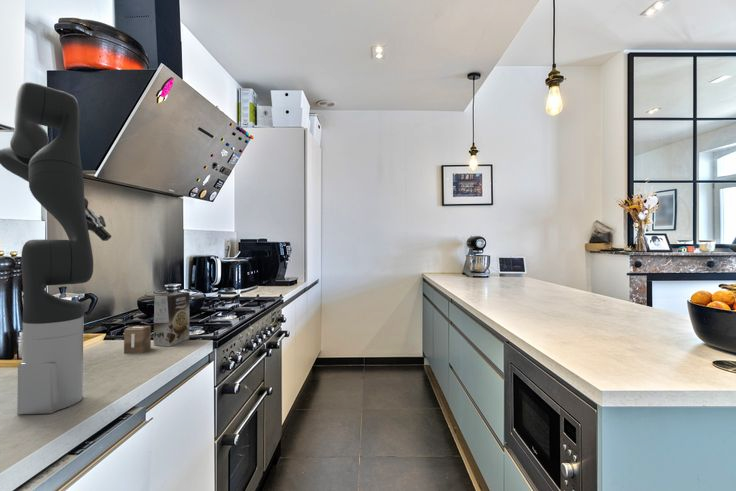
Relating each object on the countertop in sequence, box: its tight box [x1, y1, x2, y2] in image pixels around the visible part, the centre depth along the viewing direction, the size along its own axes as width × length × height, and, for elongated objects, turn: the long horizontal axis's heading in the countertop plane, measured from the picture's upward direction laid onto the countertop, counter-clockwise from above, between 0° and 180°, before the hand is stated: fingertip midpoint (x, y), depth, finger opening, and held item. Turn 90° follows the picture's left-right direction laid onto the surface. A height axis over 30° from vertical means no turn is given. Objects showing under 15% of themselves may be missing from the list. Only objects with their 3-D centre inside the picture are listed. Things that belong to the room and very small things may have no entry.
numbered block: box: [123, 325, 152, 354], centre depth 107 cm, size 5×5×7 cm
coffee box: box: [152, 291, 191, 347], centre depth 116 cm, size 9×6×16 cm
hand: (107, 238), depth 106 cm, fingers closed
